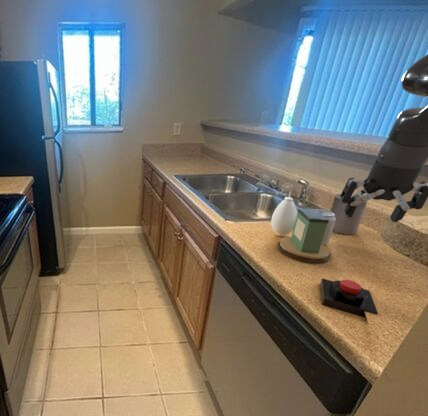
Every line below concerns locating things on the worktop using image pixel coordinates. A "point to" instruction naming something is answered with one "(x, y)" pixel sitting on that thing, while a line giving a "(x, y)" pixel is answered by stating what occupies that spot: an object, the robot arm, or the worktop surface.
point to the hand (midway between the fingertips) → (370, 217)
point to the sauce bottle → (284, 217)
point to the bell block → (346, 299)
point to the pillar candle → (342, 221)
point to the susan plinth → (302, 259)
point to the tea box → (307, 235)
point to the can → (328, 225)
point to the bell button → (350, 286)
